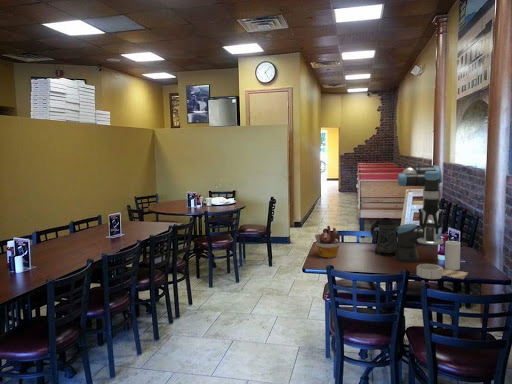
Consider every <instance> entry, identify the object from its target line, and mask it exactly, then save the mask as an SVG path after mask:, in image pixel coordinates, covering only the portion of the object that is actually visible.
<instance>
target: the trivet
mask: <svg viewBox="0 0 512 384" xmlns="http://www.w3.org/2000/svg"><path fill="white" fill-rule="evenodd" d="M467 275H469V272H467V271H466V272H465V271H460V270H449V269H446V268H443V277H445V276H447V277H446V278H451V277H452V278H454V279H459V280H464V279H465V278H466V277H467Z"/></svg>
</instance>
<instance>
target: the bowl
mask: <svg viewBox="0 0 512 384" xmlns="http://www.w3.org/2000/svg"><path fill="white" fill-rule="evenodd" d="M443 269H444V267H442V266H441V265H439V264H431V263H419V264H418V265H417V266H416V276H417V277H419V278H423V279H428V280H440V279H442V278H443V277H444V276H443ZM442 276H443V277H442Z"/></svg>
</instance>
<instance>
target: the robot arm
mask: <svg viewBox="0 0 512 384" xmlns="http://www.w3.org/2000/svg"><path fill="white" fill-rule="evenodd" d="M441 183H443V175H442V168H441V167H440V166H439V165H434V164H431V165H411V166H408V167H406V168H404V169H403V170H402V172H401V173H398V175H397V186H399V187H422V208H418V214H419V215H418V216H419V219H418V220H419V222H418V223H419V226H417V224H415V223H404V224H400V225H399V226H398V227H397V232H396V234H397V242H398V243H397V250H396V253H395V256H394V260H396V261H399V262H403V263H416V262H419V260H420V259H419V258H420V256H419V253H418V250H417V245H418V246H419V245H420V246H429V245H428V244H422V243H419V242H417V239H418V238H424V239H426V228H428V227H431V228H434V240H436V238H437V239H441V238H442V231H443V216H444V212H445V210H444V209H440V206H439V200H440V199H439V198H440V197H439V194H440V190H439V187H440V184H441ZM438 214H439V215H438ZM438 217H439V218H438ZM441 240H442V239H441ZM430 246H432V247H433V245H430Z"/></svg>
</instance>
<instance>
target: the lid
mask: <svg viewBox="0 0 512 384" xmlns="http://www.w3.org/2000/svg"><path fill="white" fill-rule="evenodd" d="M417 242H419V243H422V244H428V245H427V246H431V245H432V246H439V245H443V244H445V240H443V239H437V238H436V240H434V228H431V227H428V228H426V239H424V238H418V239H417Z"/></svg>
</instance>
